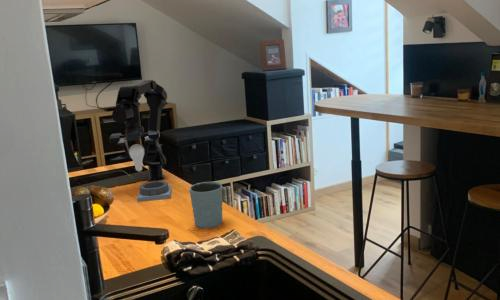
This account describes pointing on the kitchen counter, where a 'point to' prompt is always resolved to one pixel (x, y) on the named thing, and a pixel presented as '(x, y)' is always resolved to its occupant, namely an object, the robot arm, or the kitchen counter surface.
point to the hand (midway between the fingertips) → (137, 157)
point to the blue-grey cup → (207, 204)
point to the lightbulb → (137, 155)
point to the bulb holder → (154, 191)
